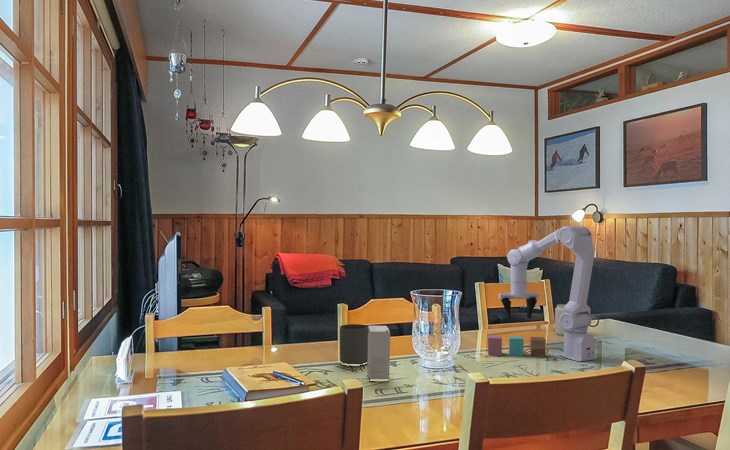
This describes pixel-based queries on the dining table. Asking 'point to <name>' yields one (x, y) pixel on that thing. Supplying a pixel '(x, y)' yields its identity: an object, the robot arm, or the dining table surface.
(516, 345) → the teal block
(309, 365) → the dining table surface
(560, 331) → the can
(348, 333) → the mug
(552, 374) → the dining table surface
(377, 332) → the skincare box
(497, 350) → the plum block
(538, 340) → the walnut block
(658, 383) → the dining table surface
